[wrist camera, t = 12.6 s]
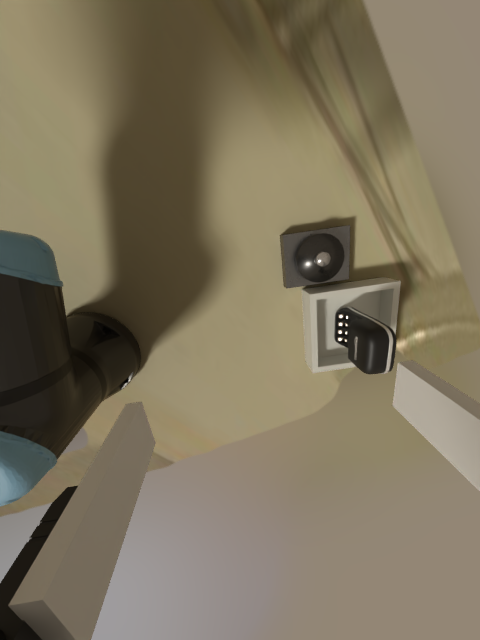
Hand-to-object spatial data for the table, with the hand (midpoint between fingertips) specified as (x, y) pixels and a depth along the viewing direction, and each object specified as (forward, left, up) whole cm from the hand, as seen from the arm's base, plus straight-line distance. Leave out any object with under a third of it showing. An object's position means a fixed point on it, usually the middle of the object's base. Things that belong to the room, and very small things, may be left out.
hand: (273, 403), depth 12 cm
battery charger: (+16, -9, -27) cm, 33 cm away
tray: (+17, -8, -28) cm, 34 cm away
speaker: (+12, +4, -28) cm, 31 cm away
